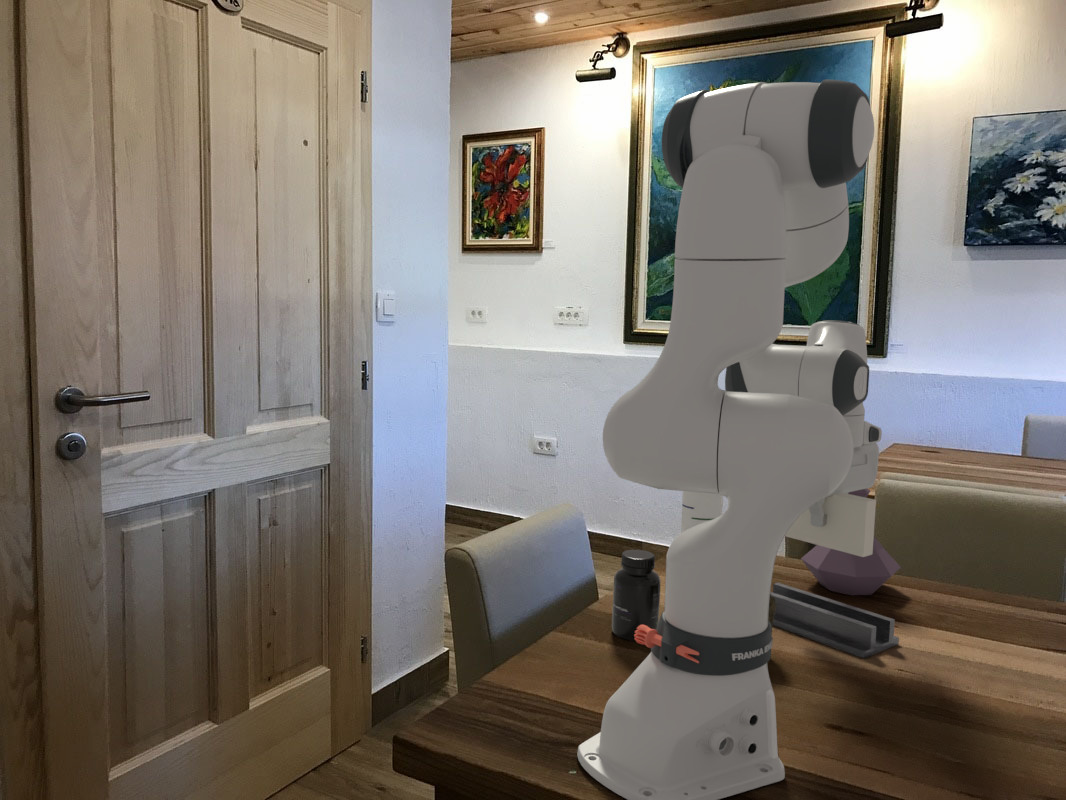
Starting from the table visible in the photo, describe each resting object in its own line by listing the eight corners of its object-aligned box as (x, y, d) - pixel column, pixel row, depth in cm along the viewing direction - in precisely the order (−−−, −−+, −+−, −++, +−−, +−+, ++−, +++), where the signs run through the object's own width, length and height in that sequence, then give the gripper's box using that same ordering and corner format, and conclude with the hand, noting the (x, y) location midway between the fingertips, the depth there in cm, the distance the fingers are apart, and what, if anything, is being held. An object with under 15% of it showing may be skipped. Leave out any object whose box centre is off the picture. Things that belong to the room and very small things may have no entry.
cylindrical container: (696, 564, 161) (701, 432, 158) (727, 574, 155) (733, 437, 153) (671, 571, 156) (676, 435, 153) (702, 582, 151) (708, 441, 148)
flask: (891, 577, 156) (899, 468, 153) (907, 607, 140) (916, 486, 138) (797, 568, 160) (803, 462, 157) (802, 597, 144) (808, 479, 142)
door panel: (872, 554, 123) (876, 499, 122) (863, 557, 122) (866, 501, 121) (789, 532, 134) (792, 482, 133) (780, 534, 133) (783, 484, 132)
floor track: (898, 644, 124) (900, 617, 124) (863, 658, 119) (865, 630, 118) (782, 604, 140) (783, 580, 139) (747, 615, 134) (748, 591, 134)
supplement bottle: (606, 638, 124) (609, 557, 123) (617, 622, 131) (619, 545, 129) (653, 645, 122) (656, 562, 121) (662, 628, 128) (665, 550, 127)
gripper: (807, 440, 117) (802, 539, 119) (888, 429, 130) (882, 518, 131) (769, 434, 122) (764, 529, 124) (850, 424, 135) (845, 510, 136)
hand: (826, 523), depth 128 cm, fingers closed on door panel, 2 cm apart
